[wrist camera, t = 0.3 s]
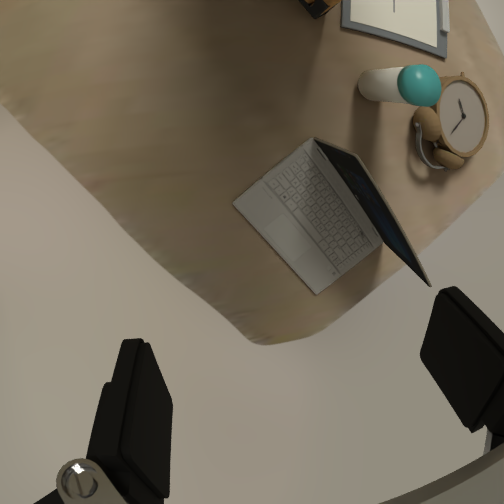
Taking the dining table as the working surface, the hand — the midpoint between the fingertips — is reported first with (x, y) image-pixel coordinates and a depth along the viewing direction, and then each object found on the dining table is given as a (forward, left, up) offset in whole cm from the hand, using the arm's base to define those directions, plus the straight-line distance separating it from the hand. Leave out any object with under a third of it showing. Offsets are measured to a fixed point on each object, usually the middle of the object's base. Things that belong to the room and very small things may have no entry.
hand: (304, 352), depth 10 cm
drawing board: (-25, +19, -30) cm, 44 cm away
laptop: (+7, +10, -30) cm, 33 cm away
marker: (-11, +15, -30) cm, 35 cm away
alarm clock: (-9, +28, -30) cm, 42 cm away
